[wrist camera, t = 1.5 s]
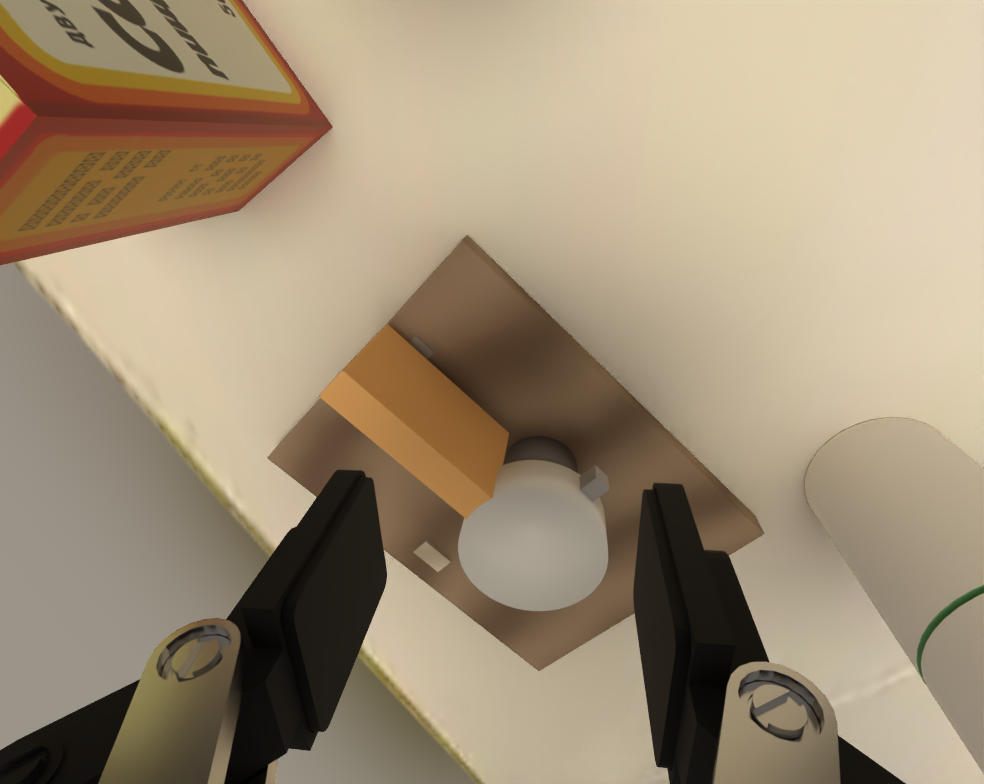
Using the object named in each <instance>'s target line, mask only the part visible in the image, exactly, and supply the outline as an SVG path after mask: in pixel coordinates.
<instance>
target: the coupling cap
mask: <svg viewBox="0 0 984 784" xmlns="http://www.w3.org/2000/svg"><path fill="white" fill-rule="evenodd" d="M319 397H320V398H321V399H323V400H324V401H325V402H326V403H327V404H329V405H330V406H331V407H332V408H333V409H335V410H336V411H337V412H338V413H339V414H341V415H342V416H343V417H344V418H345V419H347V420H348V421H349V422H350V423H351V424H353V425H354V426H355V427H356V428H357V429H359V430H360V431H361V432H362V433H363V434H365V435H366V436H367V437H368V438H369V439H371V440H372V441H373V442H374V443H375V444H377V445H378V446H379V447H380V448H381V449H383V450H384V451H385V452H386V453H387V454H389V455H390V456H391V457H392V458H393V459H395V460H396V461H397V462H398V463H399V464H401V465H402V466H403V467H404V468H405V469H407V470H408V471H409V472H410V473H411V474H413V475H414V476H415V477H416V478H417V479H419V480H420V481H421V482H422V483H423V484H425V485H426V486H427V487H428V488H429V489H431V490H432V491H433V492H434V493H435V494H437V495H438V496H439V497H440V498H441V499H443V500H444V501H445V502H446V503H447V504H449V505H450V506H451V507H452V508H453V509H455V510H456V511H457V512H458V513H459V514H461V515H462V516H463V517H464V521H463V524H462V528H461V532H460V535H459V541H458V554H459V559H460V562H461V566H462V568H463V570H464V572H465V574H466V575H467V577H468V578H469V580H470V581H471V582H472V583H473V584H474V585H475V586H476V587H477V588H478V589H479V590H480V591H481V592H483V593H484V594H485V595H487V596H488V597H490V598H491V599H493V600H495V601H497V602H499V603H501V604H504V605H506V606H509V607H513V608H517V609H521V610H528V611H551V610H556V609H561V608H565V607H568V606H570V605H573V604H575V603H577V602H579V601H581V600H583V599H584V598H586V597H587V596H588V595H590V594H591V593H592V592H593V591H594V590H595V589H596V588H597V586H598V585H599V584H600V582H601V581H602V579H603V577H604V575H605V572H606V569H607V565H608V544H607V534H606V523H605V514H604V508H603V505H602V502H601V499H600V498H599V497H600V496H601V495H603V494H604V493H605V492H607V491H608V490H609V483H608V476H607V475H606V474H605V473H603V472H602V471H601V470H600V469H599V468H598V467H597V466H596V465H594V466H593V467H592V468H591V469H589V470H588V471H587V472H585V473H584V474H583V475H579V474H578V473H576V472H575V471H573V470H571V469H569V468H567V467H565V466H563V465H559V464H556V463H553V462H548V461H542V460H522V461H515V462H511V463H508V464H505V465H503V462H504V457H505V452H506V447H507V442H508V437H509V432H507V431H506V430H505V429H504V428H503V427H502V426H501V425H500V424H499V423H497V422H496V421H495V420H494V419H493V418H492V417H491V416H490V415H488V414H487V413H486V412H485V411H484V410H483V409H482V408H481V407H480V406H478V405H477V404H476V403H475V402H474V401H473V400H472V399H471V398H469V397H468V396H467V395H466V394H465V393H464V392H463V391H462V390H461V389H459V388H458V387H457V386H456V385H455V384H454V383H453V382H452V381H451V380H449V379H448V378H447V377H446V376H445V375H444V374H443V373H442V372H440V371H439V370H438V369H437V368H436V367H435V366H434V365H433V364H432V363H430V362H429V361H428V360H427V359H426V358H425V357H424V356H423V355H421V354H420V353H419V352H418V351H417V350H416V349H415V348H414V347H413V346H411V345H410V344H409V343H408V342H407V341H406V340H405V339H404V338H402V337H401V336H400V335H399V334H398V333H397V332H396V331H395V330H394V329H392V328H391V327H390V326H389V325H388V324H386V325H385V326H384V327H383V328H382V330H381V331H380V332H379V333H378V334H377V335H376V336H375V337H374V338H373V339H372V340H371V341H370V342H369V343H368V344H367V345H366V346H365V347H364V348H363V349H362V350H361V351H360V352H359V353H358V354H357V355H356V356H355V358H354V359H353V360H352V361H351V362H350V363H349V364H348V365H347V366H346V367H345V368H344V369H343V370H342V371H341V372H340V373H339V374H338V376H337V377H336V378H335V379H334V380H333V381H332V382H331V383H330V384H329V386H328V387H327V388H326V389H325V390H324V391H323V392H322V393H321V395H320V396H319Z"/></svg>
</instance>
